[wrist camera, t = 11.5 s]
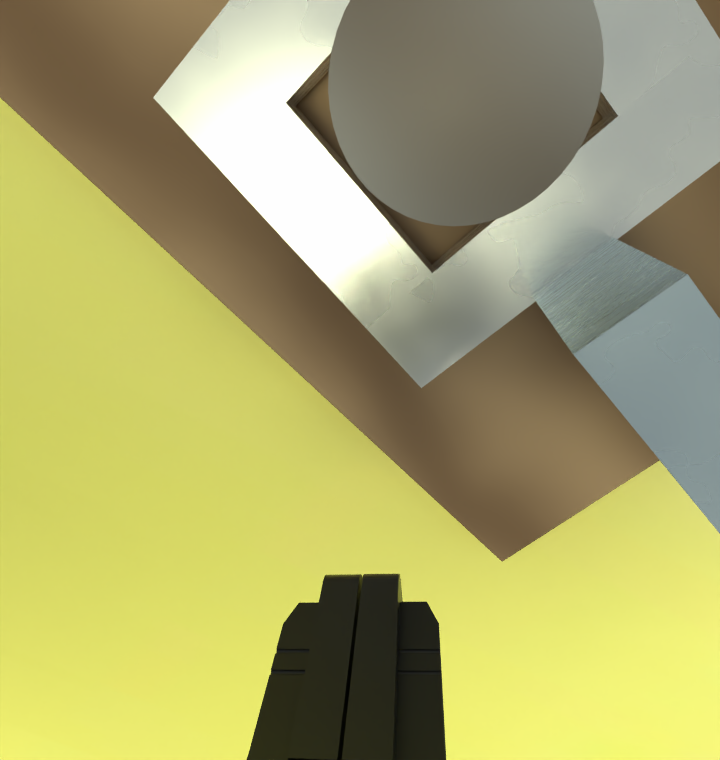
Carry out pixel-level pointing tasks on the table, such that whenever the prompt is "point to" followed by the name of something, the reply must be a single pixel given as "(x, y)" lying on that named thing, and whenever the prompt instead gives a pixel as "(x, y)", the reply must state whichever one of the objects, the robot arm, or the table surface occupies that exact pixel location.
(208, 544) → the table surface
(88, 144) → the flange base
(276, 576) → the table surface
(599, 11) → the flange plate
